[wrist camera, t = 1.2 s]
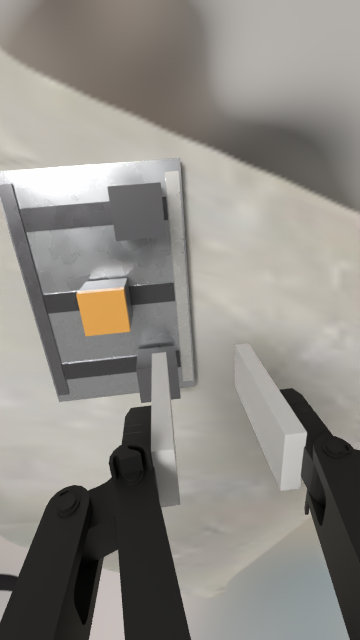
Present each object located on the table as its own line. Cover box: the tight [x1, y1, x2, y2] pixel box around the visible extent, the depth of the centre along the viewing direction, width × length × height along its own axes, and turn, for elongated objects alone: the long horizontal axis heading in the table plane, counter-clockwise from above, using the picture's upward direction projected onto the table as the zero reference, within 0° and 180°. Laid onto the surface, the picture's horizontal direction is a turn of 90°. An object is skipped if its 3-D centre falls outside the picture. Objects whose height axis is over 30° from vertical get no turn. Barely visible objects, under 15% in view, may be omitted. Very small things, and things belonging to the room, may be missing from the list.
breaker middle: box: [76, 278, 133, 336], centre depth 27 cm, size 4×4×4 cm
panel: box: [0, 158, 195, 402], centre depth 30 cm, size 16×24×2 cm, turn 4°
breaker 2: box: [136, 346, 180, 403], centre depth 31 cm, size 4×4×4 cm
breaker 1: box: [107, 182, 166, 241], centre depth 24 cm, size 4×4×4 cm
